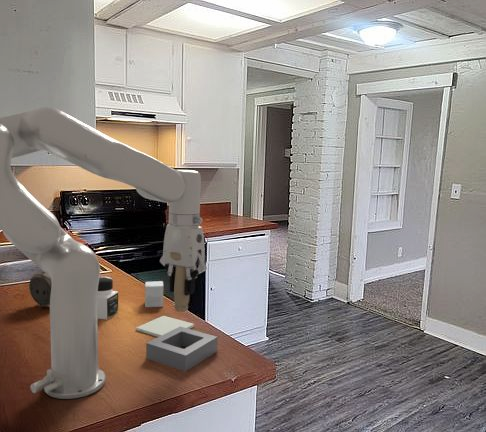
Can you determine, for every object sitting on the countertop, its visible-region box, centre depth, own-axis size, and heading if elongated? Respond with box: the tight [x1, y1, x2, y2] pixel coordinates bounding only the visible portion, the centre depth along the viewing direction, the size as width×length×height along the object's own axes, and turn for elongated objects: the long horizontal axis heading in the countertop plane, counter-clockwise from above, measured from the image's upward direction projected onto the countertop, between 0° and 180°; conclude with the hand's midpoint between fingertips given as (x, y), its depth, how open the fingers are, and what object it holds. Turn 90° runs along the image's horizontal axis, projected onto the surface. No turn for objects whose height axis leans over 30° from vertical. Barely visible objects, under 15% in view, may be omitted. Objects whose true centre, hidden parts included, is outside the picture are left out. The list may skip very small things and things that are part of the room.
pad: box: [135, 315, 195, 338], centre depth 131 cm, size 12×12×1 cm
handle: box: [170, 252, 190, 313], centre depth 112 cm, size 5×6×15 cm
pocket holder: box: [145, 327, 218, 372], centre depth 114 cm, size 13×12×4 cm
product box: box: [144, 280, 164, 308], centre depth 152 cm, size 6×6×7 cm
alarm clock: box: [28, 270, 52, 310], centre depth 144 cm, size 11×5×16 cm, turn 65°
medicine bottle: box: [97, 276, 119, 321], centre depth 140 cm, size 7×7×12 cm
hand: (181, 291), depth 112 cm, fingers closed on handle, 4 cm apart
